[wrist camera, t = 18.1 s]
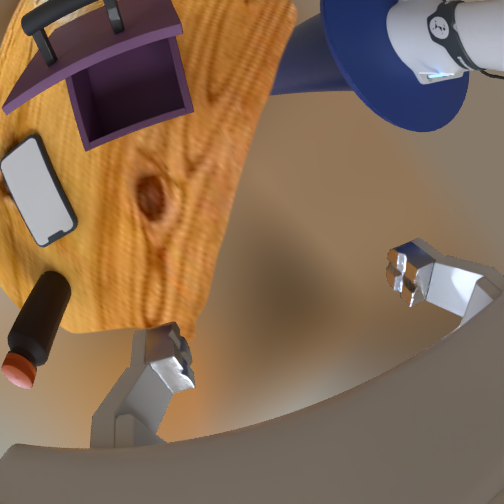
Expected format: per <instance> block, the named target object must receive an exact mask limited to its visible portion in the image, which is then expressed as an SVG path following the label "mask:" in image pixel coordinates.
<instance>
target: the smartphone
mask: <svg viewBox="0 0 504 504" xmlns="http://www.w3.org/2000/svg"><path fill="white" fill-rule="evenodd" d="M0 169H1V172H2V174H3V177H4V179H5V182H6V184H7V186H8V189H9V191H10V193H11V195H12V197H13V200H14V202H15V204H16V206H17V208H18V210H19V212H20V214H21V216H22V218H23V220H24V222H25V224H26V226H27V227H28V229H29V231H30V233H31V235H32V237H33V238H34V240H35V242H36V244H37V245H38V246H40V247H46V246H48V245H49V244H51V243H53V242H54V241H56V240H58V239H60V238H61V237H63V236H65V235H67V234H69V233H70V232H72V231H74V230H75V228H76V227H77V225H78V220H77V217H76V215H75V213H74V211H73V209H72V208H71V206H70V204H69V202H68V199H67V197H66V195H65V193H64V191H63V189H62V187H61V185H60V183H59V180H58V178H57V176H56V174H55V171H54V169H53V167H52V165H51V162H50V160H49V157H48V155H47V152H46V150H45V147H44V145H43V142H42V140H41V137H40V136H39V135H37V134H33V135H30V136H28V137H27V138H26V139H25V140H23V141H22V142H21V143H20V144H18V145H17V146H16V147H15V148H13V149H12V150H11V151H10V152H9V153H8V154H6V155H5V156H4V157H3V158H2V159H1V161H0Z"/></svg>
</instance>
